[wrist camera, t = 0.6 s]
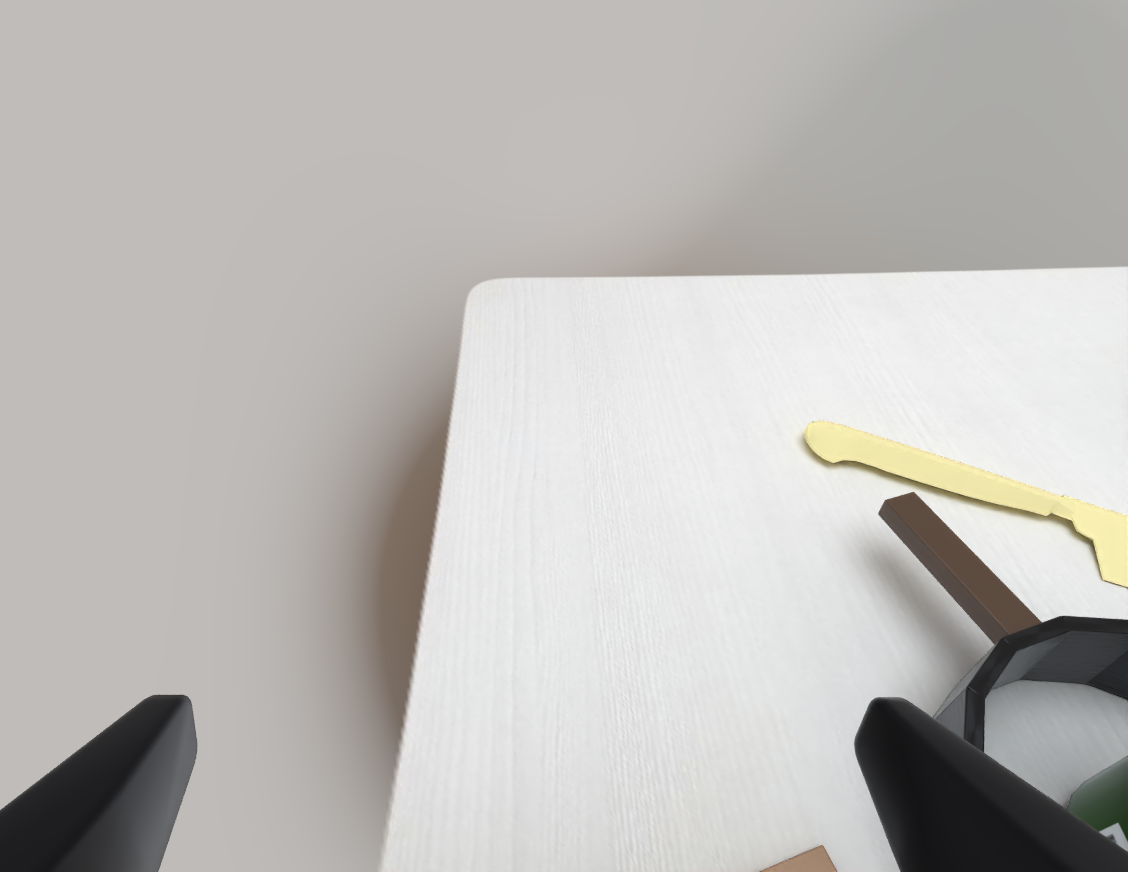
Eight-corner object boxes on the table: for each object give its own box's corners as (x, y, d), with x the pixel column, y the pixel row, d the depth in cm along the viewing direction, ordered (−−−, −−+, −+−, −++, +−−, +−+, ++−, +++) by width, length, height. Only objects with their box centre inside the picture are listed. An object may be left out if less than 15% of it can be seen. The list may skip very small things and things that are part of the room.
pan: (1575, 1061, 18) (1762, 1055, 15) (1214, 1333, 14) (1366, 1391, 12) (987, 509, 32) (1026, 454, 29) (744, 584, 29) (762, 531, 26)
